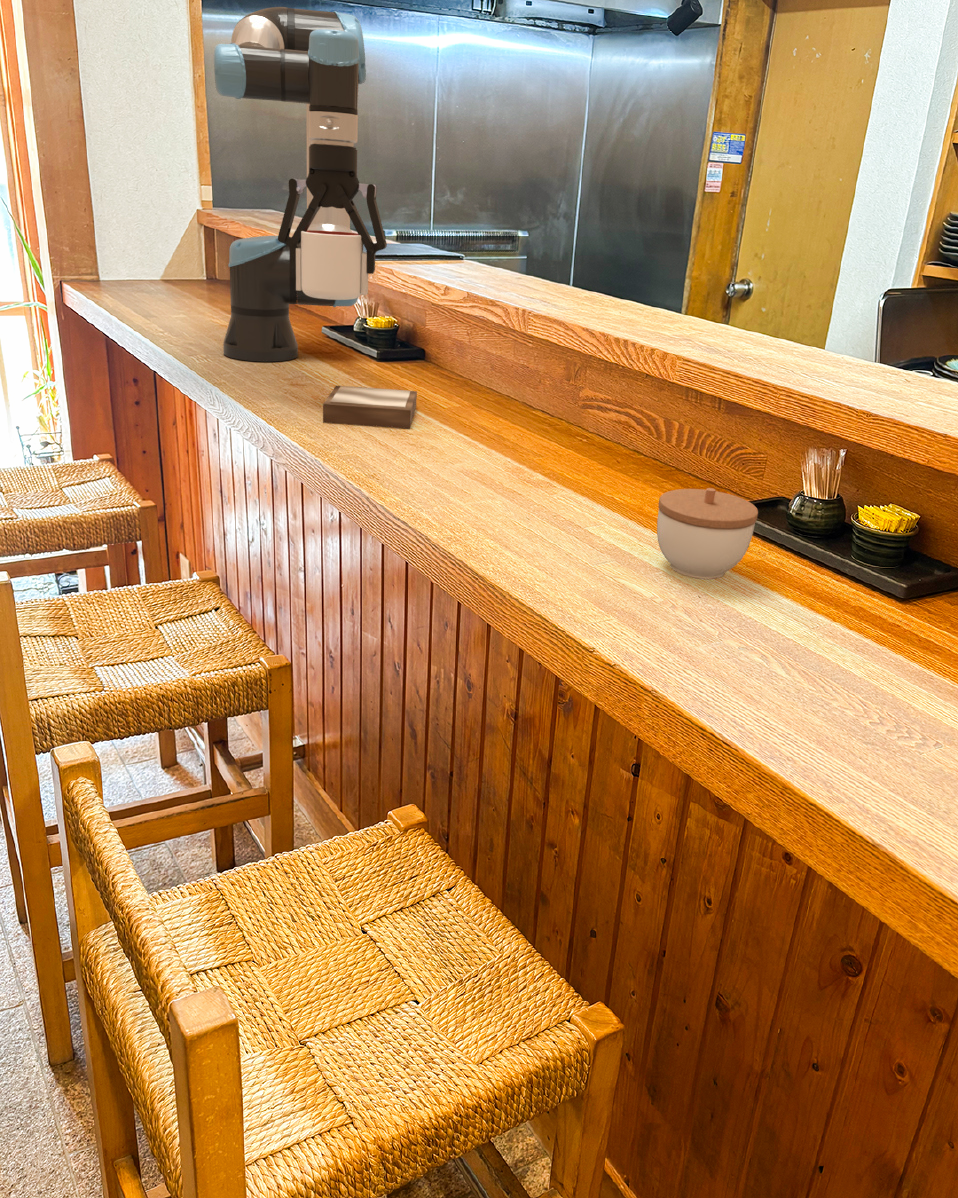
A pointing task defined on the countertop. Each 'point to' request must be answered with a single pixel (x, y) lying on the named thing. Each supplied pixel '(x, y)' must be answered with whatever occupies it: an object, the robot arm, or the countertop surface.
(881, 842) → the countertop surface
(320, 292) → the cup
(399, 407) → the stand
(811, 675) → the countertop surface
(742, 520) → the lidded jar
